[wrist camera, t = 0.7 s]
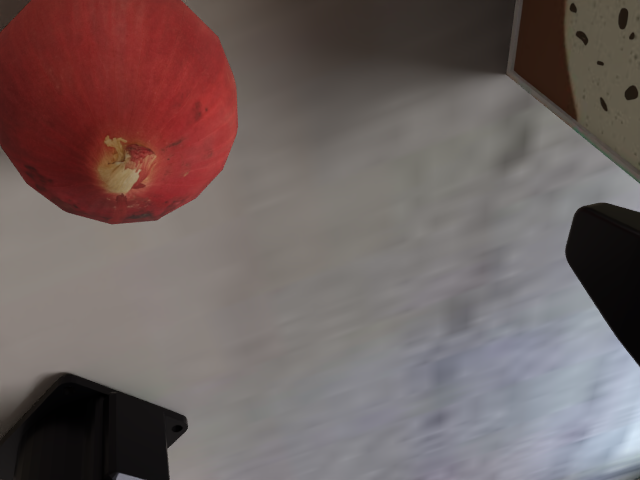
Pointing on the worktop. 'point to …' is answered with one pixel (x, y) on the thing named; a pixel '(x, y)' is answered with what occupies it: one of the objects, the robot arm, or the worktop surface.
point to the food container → (584, 69)
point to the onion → (115, 105)
